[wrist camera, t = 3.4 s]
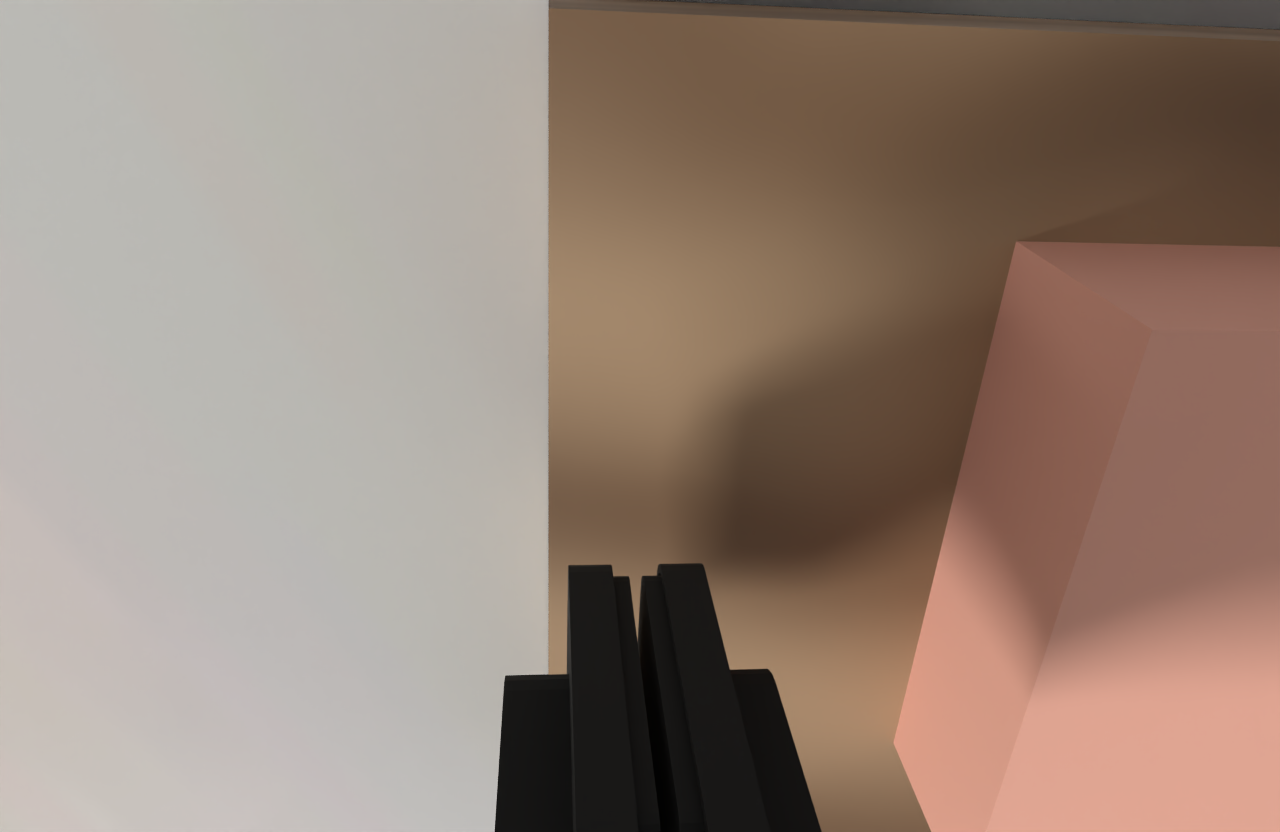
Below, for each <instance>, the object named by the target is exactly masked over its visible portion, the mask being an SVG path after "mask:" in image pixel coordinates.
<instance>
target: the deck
mask: <svg viewBox="0 0 1280 832" xmlns="http://www.w3.org/2000/svg"><path fill="white" fill-rule="evenodd" d="M1016 241H1027V242H1075V243H1123V244H1170V245H1218V246H1266V247H1280V30H1275V29H1253V28H1232V27H1211V26H1189V25H1168V24H1146V23H1125V22H1103V21H1082V20H1060V19H1039V18H1017V17H996V16H975V15H953V14H932V13H910V12H889V11H867V10H846V9H824V8H803V7H781V6H760V5H739V4H717V3H696V2H674V1H653V0H549V675H550V674H567V601H568V565H612V570H613V576H629V579H630V586H631V594H632V602H633V610H634V618H635V626H636V634H637V642H638V624H639V607H640V589H641V579H642V576H657V569H658V565H659V564H680V563H702V564H703V565H704V568H705V572H706V576H707V580H708V584H709V588H710V592H711V596H712V600H713V604H714V608H715V612H716V616H717V620H718V624H719V628H720V632H721V636H722V640H723V644H724V648H725V652H726V656H727V660H728V664H729V668H730V670H737V669H769V670H770V672H771V673H772V675H773V677H774V680H775V682H776V685H777V688H778V691H779V695H780V698H781V701H782V704H783V708H784V711H785V714H786V717H787V721H788V724H789V727H790V730H791V734H792V737H793V740H794V743H795V747H796V750H797V753H798V756H799V760H800V763H801V766H802V769H803V773H804V776H805V779H806V782H807V786H808V789H809V792H810V795H811V799H812V802H813V805H814V808H815V812H816V815H817V818H818V821H819V825H820V828H821V831H822V832H931V830H930V828H929V825H928V823H927V821H926V818H925V816H924V814H923V811H922V809H921V807H920V804H919V802H918V799H917V797H916V795H915V792H914V790H913V788H912V785H911V783H910V781H909V778H908V776H907V774H906V771H905V769H904V767H903V764H902V762H901V760H900V757H899V755H898V753H897V750H896V748H895V746H894V743H893V742H894V738H895V734H896V730H897V726H898V722H899V718H900V714H901V710H902V706H903V701H904V697H905V693H906V689H907V685H908V681H909V677H910V673H911V669H912V665H913V661H914V656H915V652H916V648H917V644H918V640H919V636H920V632H921V628H922V624H923V620H924V616H925V611H926V607H927V603H928V599H929V595H930V591H931V587H932V583H933V579H934V575H935V571H936V567H937V562H938V558H939V554H940V550H941V546H942V542H943V538H944V534H945V530H946V526H947V522H948V517H949V513H950V509H951V505H952V501H953V497H954V493H955V489H956V485H957V481H958V477H959V472H960V468H961V464H962V460H963V456H964V452H965V448H966V444H967V440H968V436H969V432H970V428H971V423H972V419H973V415H974V411H975V407H976V403H977V399H978V395H979V391H980V387H981V383H982V378H983V374H984V370H985V366H986V362H987V358H988V354H989V350H990V346H991V342H992V338H993V333H994V329H995V325H996V321H997V317H998V313H999V309H1000V305H1001V301H1002V297H1003V293H1004V288H1005V284H1006V280H1007V276H1008V272H1009V268H1010V264H1011V260H1012V256H1013V252H1014V248H1015V244H1016Z"/></svg>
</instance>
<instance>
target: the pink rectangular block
mask: <svg viewBox="0 0 1280 832" xmlns="http://www.w3.org/2000/svg"><path fill="white" fill-rule="evenodd" d="M893 743H894V746H895V748H896V750H897V753H898V755H899V757H900V760H901V762H902V764H903V767H904V769H905V771H906V774H907V776H908V778H909V781H910V783H911V785H912V788H913V790H914V792H915V795H916V797H917V799H918V802H919V804H920V807H921V809H922V811H923V814H924V816H925V818H926V821H927V823H928V825H929V828H930V830H931V832H1280V247H1266V246H1218V245H1170V244H1123V243H1075V242H1027V241H1016V244H1015V248H1014V252H1013V256H1012V260H1011V264H1010V268H1009V272H1008V276H1007V280H1006V284H1005V288H1004V293H1003V297H1002V301H1001V305H1000V309H999V313H998V317H997V321H996V325H995V329H994V333H993V338H992V342H991V346H990V350H989V354H988V358H987V362H986V366H985V370H984V374H983V378H982V383H981V387H980V391H979V395H978V399H977V403H976V407H975V411H974V415H973V419H972V423H971V428H970V432H969V436H968V440H967V444H966V448H965V452H964V456H963V460H962V464H961V468H960V472H959V477H958V481H957V485H956V489H955V493H954V497H953V501H952V505H951V509H950V513H949V517H948V522H947V526H946V530H945V534H944V538H943V542H942V546H941V550H940V554H939V558H938V562H937V567H936V571H935V575H934V579H933V583H932V587H931V591H930V595H929V599H928V603H927V607H926V611H925V616H924V620H923V624H922V628H921V632H920V636H919V640H918V644H917V648H916V652H915V656H914V661H913V665H912V669H911V673H910V677H909V681H908V685H907V689H906V693H905V697H904V701H903V706H902V710H901V714H900V718H899V722H898V726H897V730H896V734H895V738H894V742H893Z"/></svg>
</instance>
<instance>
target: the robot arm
mask: <svg viewBox="0 0 1280 832" xmlns="http://www.w3.org/2000/svg"><path fill="white" fill-rule="evenodd" d="M495 832H822V831H821V828H820V825H819V821H818V818H817V815H816V812H815V808H814V805H813V802H812V799H811V795H810V792H809V789H808V786H807V782H806V779H805V776H804V773H803V769H802V766H801V763H800V760H799V756H798V753H797V750H796V747H795V743H794V740H793V737H792V734H791V730H790V727H789V724H788V721H787V717H786V714H785V711H784V708H783V704H782V701H781V698H780V695H779V691H778V688H777V685H776V682H775V680H774V677H773V675H772V673H771V672H770V670H769V669H737V670H730V668H729V664H728V660H727V656H726V652H725V648H724V644H723V640H722V636H721V632H720V628H719V624H718V620H717V616H716V612H715V608H714V604H713V600H712V596H711V592H710V588H709V584H708V580H707V576H706V572H705V568H704V565H703V564H702V563H680V564H659V565H658V569H657V576H642V579H641V589H640V607H639V624H638V642H637V634H636V626H635V618H634V610H633V602H632V594H631V586H630V579H629V576H613V570H612V565H568V601H567V674H550V675H513V676H505V682H504V696H503V711H502V727H501V742H500V758H499V774H498V789H497V805H496V821H495Z"/></svg>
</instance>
